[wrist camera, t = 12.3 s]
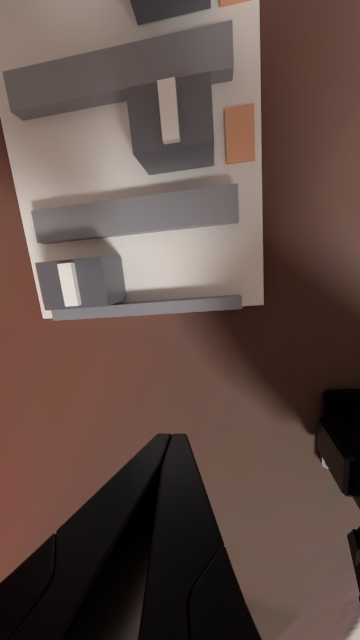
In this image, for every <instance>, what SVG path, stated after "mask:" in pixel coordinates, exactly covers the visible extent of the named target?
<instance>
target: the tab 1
mask: <svg viewBox="0 0 360 640" xmlns="http://www.w3.org/2000/svg"><path fill="white" fill-rule="evenodd" d="M35 265H36V270H37V275H38V280H39V284H40V289H41V294H42V299H43V303H44V308H45V311H46V310H61V309H75V308H90V307H105V306H110V305H112V304H115V303H117V302H119V301H121V300H124V299H126V298H127V297H126V289H125V282H124V274H123V267H122V260H121V257H105V256H99V257H89V258H79V259H68V260H58V261H48V262H38V263H35Z"/></svg>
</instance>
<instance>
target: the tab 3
mask: <svg viewBox="0 0 360 640" xmlns="http://www.w3.org/2000/svg"><path fill="white" fill-rule="evenodd" d="M125 89H126V98H127V107H128V115H129V124H130V133H131V141H132V150H133V155H134V156H135V158H136V159H137V160H138V162H139V163H140V164H141V165H142V167H143V168H144V169H145V171H146V172H147V173H148V175H155V174H162V173H169V172H176V171H183V170H189V169H196V168H203V167H210V166H214V126H213V106H212V87H211V71H207V72H202V73H197V74H192V75H187V76H182V77H177V78H175V77H171V78H166V79H161V80H157V82H152V83H147V84H142V85H137V86H132V87H127V88H125Z"/></svg>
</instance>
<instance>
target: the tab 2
mask: <svg viewBox="0 0 360 640" xmlns="http://www.w3.org/2000/svg"><path fill="white" fill-rule="evenodd" d="M130 3H131V6H132V9H133V12H134V15H135V18H136V21H137V24H138V25H142V24H146V23H150V22H154V21H159V20H163V19H167V18H171V17H175V16H180V15H184V14H188V13H192V12H197V11H201V10H205V9H209V8H211V0H130Z"/></svg>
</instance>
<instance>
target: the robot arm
mask: <svg viewBox="0 0 360 640" xmlns="http://www.w3.org/2000/svg"><path fill="white" fill-rule="evenodd" d="M332 395H333V398H331V399H328V398H329V396H332ZM317 449H318V450H319V452H320V462H321V464H322V466H323V467H324V468H326V469H329V470H330V472H331V474H332V476H333V478H334V479H335V481H336V483H337V485H338V487H339V488H340V490H341V492H342V493H343V494H344V495H345V496H348V497H353V499H354V500H355V502H356V504H357V506H358V507H359V509H360V389H330V390H326V391H325V392H324V393H323V395H322V417H320V418H319V420H318V435H317ZM347 537H348V542H349V547H350V551H351V556H352V560H353V565H354V569H355V574H356V579H357V583H358V588H359V592H360V527H359V528H358V529H357V530H355V529H353V530H352V531H351V532H350V533H349V534H348V535H347ZM359 601H360V595H359ZM0 640H261V637H260V635H259V633H258V630H257V628H256V626H255V623H254V621H253V619H252V616H251V614H250V612H249V609H248V607H247V605H246V602H245V600H244V597H243V594H242V592H241V589H240V586H239V584H238V581H237V578H236V576H235V573H234V570H233V568H232V565H231V562H230V559H229V556H228V553H227V550H226V548H225V547H224V542H223V539H222V536H221V533H220V530H219V527H218V525H217V522H216V519H215V516H214V513H213V510H212V507H211V504H210V501H209V498H208V495H207V492H206V489H205V487H204V484H203V481H202V478H201V475H200V472H199V469H198V466H197V463H196V460H195V457H194V454H193V451H192V449H191V446H190V443H189V440H188V437H187V435H186V434H173V435H171V434H157V435H156V436H155V437H154V438H153V439H152V440H151V441H150V442H148V443H147V444H146V445H145V446H144V447H143V448H142V449H141V450H140V451H139V452H138V453H137V454H136V455H135V456H134V457H133V458H132V459H131V460H130V461H129V462H128V463H127V464H126V465H125V466H123V467H122V468H121V469H120V470H119V471H118V472H117V473H116V474H115V475H114V476H113V477H112V478H111V479H110V480H109V481H108V482H107V483H106V484H105V485H104V486H103V487H102V488H101V489H99V490H98V491H97V492H96V493H95V494H94V495H93V496H92V497H91V498H90V499H89V500H88V501H87V502H86V503H85V504H84V505H83V506H82V507H81V508H80V509H79V510H78V511H77V512H76V513H74V514H73V515H72V516H71V517H70V518H69V519H68V520H67V521H66V522H65V523H64V524H63V525H62V526H61V527H60V528H59V529H58V530H57V532H56V534H52V535H51V536H50V537H49V538H48V539H47V540H46V541H45V542H44V543H43V544H42V545H41V546H40V547H39V548H38V549H37V550H36V551H35V552H34V553H32V554H31V555H30V556H29V557H28V558H27V559H26V560H25V561H24V562H23V563H22V564H21V565H19V566H18V567H17V568H16V569H15V570H14V571H13V572H12V573H11V574H10V575H9V576H8V577H6V578H5V579H4V580H3V581H2V582H1V583H0Z"/></svg>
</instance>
